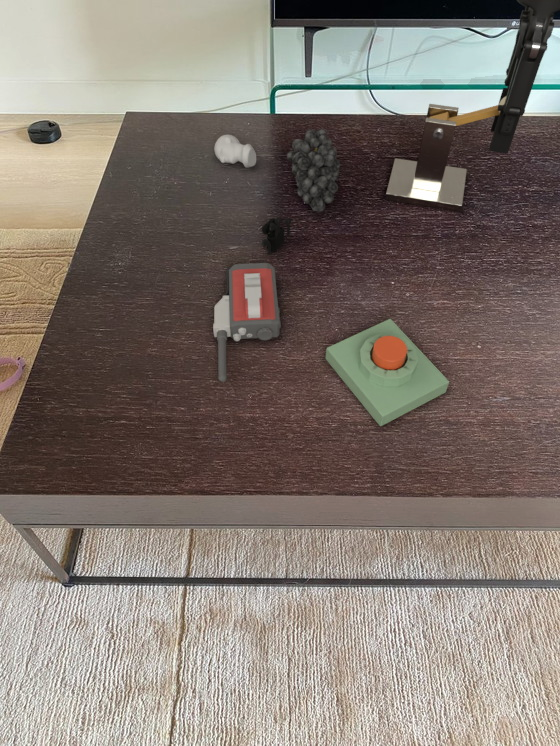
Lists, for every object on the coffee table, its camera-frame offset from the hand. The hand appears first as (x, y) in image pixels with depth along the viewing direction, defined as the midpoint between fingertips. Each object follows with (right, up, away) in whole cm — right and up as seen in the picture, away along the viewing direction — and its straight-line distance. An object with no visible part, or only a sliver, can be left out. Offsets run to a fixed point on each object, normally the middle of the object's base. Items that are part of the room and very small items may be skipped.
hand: (499, 140), depth 93 cm
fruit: (-27, -6, +8) cm, 29 cm away
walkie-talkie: (-37, -29, -9) cm, 48 cm away
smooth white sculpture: (-41, +1, +13) cm, 43 cm away
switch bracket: (-9, -4, +9) cm, 13 cm away
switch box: (-20, -35, -14) cm, 43 cm away
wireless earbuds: (-34, -16, 0) cm, 37 cm away
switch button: (-20, -33, -17) cm, 42 cm away
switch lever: (-4, +2, -1) cm, 4 cm away
